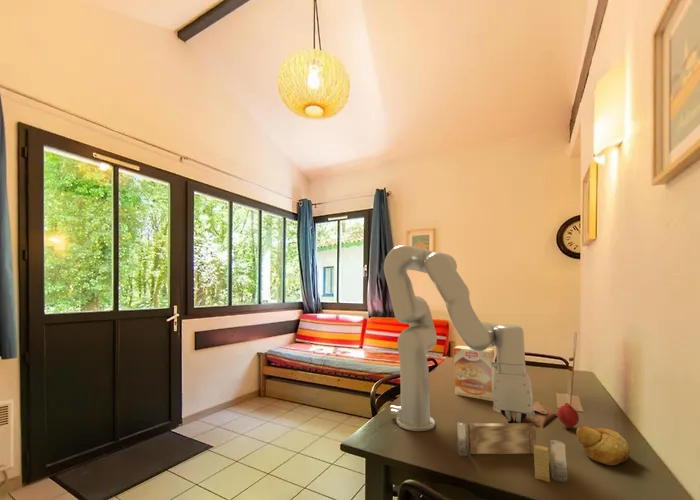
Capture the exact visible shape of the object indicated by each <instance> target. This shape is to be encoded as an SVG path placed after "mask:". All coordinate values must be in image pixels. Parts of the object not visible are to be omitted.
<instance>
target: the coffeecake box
mask: <svg viewBox="0 0 700 500" xmlns="http://www.w3.org/2000/svg"><path fill="white" fill-rule="evenodd" d="M494 350H495V349H494V348H489V347H488V348H487V349H485V350H483V351H475V350H473V349H471V348H469V347H468V346H467V345H457V346H454V348H453V358H454V359H453V361H454V363H453V364H454V367H453V368H454V394H455V395H457V396H462V397H468V398H473V399H479V400H483V401H491V402H493V379H494V372H495V371H496V370H495V369H496V368H494V367H492V362H493V363H494V362H495V351H494Z"/></svg>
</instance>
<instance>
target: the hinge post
mask: <svg viewBox="0 0 700 500" xmlns="http://www.w3.org/2000/svg"><path fill="white" fill-rule="evenodd" d="M456 425H457V426H456V427H457V428H456V432H457V433H456V434H457V455H458V456H460V457H464V458H465V457H467V456H468V444H467V443H468V440H467V439H468V431H467V423H466V422H463V421H458V422H456Z"/></svg>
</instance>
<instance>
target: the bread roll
mask: <svg viewBox="0 0 700 500" xmlns="http://www.w3.org/2000/svg"><path fill="white" fill-rule="evenodd" d="M576 438H577V440H578V442H579V444H581V445H582V447H583V450H584V451H583V452H584V453H585V454H586V455H587V457H588V458H590V459H591V460H593V461H595V462H596V463H597V462H598V463H601V464H603V465H605V466H606V465H607V466H616V465H619V464H620V463H623V462H626V461H628V458H629V456H630V453H631V452H630V446H629V443H628V442H627V440H626V439H625V438H624V437H623V436H622V435H621V434H620V433H619V432H618V431H615V430H612V429H610V428H605V427H599V428H598V427H597V428H591V427H589V426H587V425H580V426H578V428H576Z"/></svg>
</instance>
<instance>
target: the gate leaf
mask: <svg viewBox="0 0 700 500" xmlns="http://www.w3.org/2000/svg"><path fill="white" fill-rule="evenodd" d="M536 428H537V427H536V426H535V425H534V424H532V423H508V422H502V423H500V422H497V423H496V422H495V423H493V422H490V423H488V422H487V423H480V422H479V423H478V422H476V423H475V422H474V423H473V422H472V423H471V422H470V423H469V422H468V423H467V439H468V440H467V443H468V444H467V447H468V452H469V453H470V454H471V455H477V454H533V455H534V445H537V432H536V431H537V429H536Z"/></svg>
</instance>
